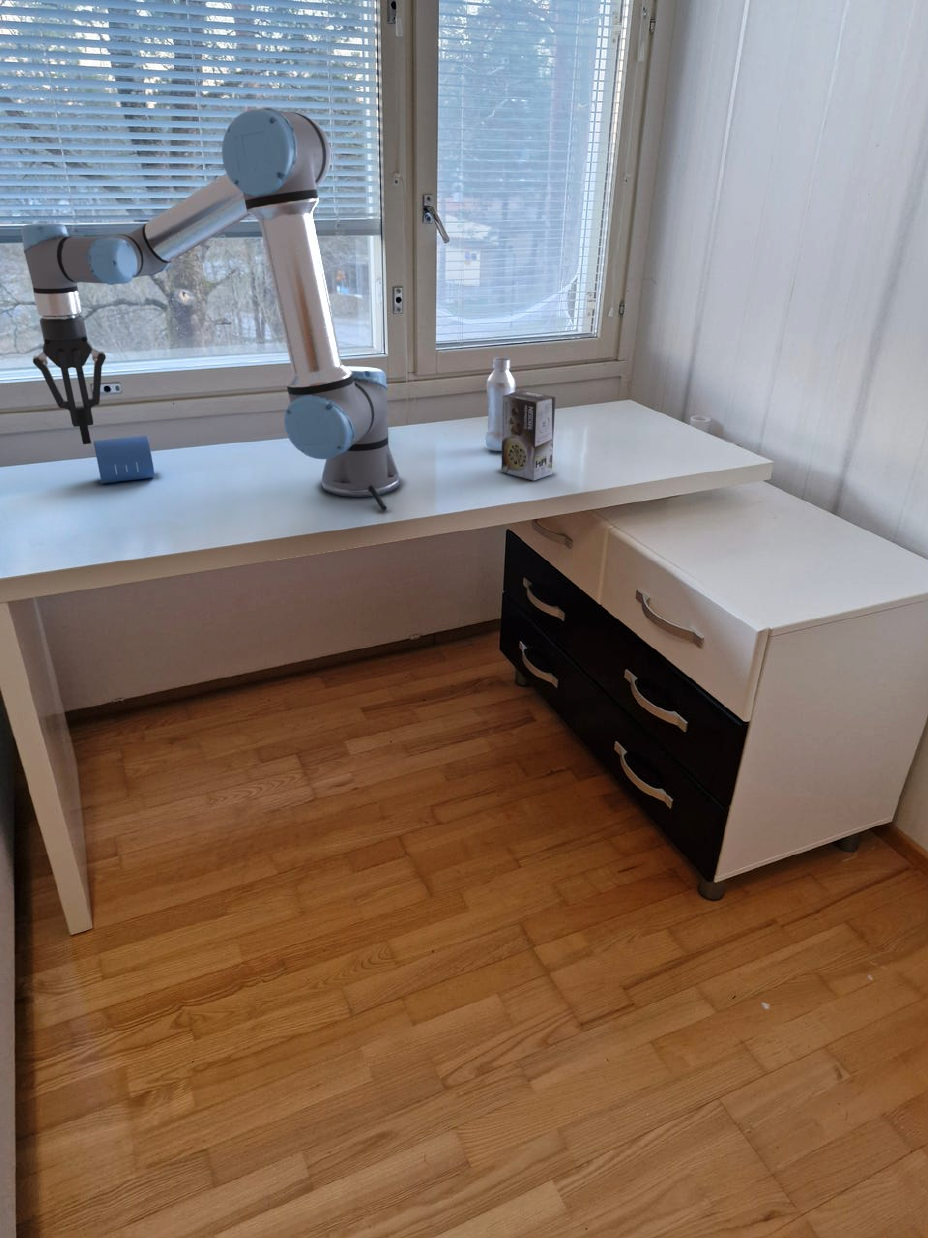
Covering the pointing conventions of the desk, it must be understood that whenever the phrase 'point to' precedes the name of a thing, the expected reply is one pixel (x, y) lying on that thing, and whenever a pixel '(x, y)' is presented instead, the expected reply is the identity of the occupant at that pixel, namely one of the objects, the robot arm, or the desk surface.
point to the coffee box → (527, 434)
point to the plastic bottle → (497, 400)
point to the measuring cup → (124, 459)
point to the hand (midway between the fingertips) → (86, 441)
